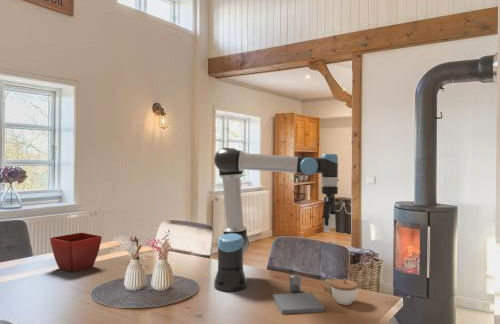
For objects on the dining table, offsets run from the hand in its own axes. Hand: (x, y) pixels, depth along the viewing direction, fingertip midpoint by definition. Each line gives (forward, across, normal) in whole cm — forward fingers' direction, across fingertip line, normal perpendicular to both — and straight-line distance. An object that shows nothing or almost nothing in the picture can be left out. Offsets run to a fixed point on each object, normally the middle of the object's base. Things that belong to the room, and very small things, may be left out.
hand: (329, 229), depth 185 cm
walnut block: (+25, -12, -4) cm, 28 cm away
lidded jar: (+25, -24, -11) cm, 36 cm away
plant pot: (+25, -30, +131) cm, 137 cm away
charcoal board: (+25, -34, +6) cm, 43 cm away
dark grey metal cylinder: (+25, -19, +12) cm, 34 cm away
